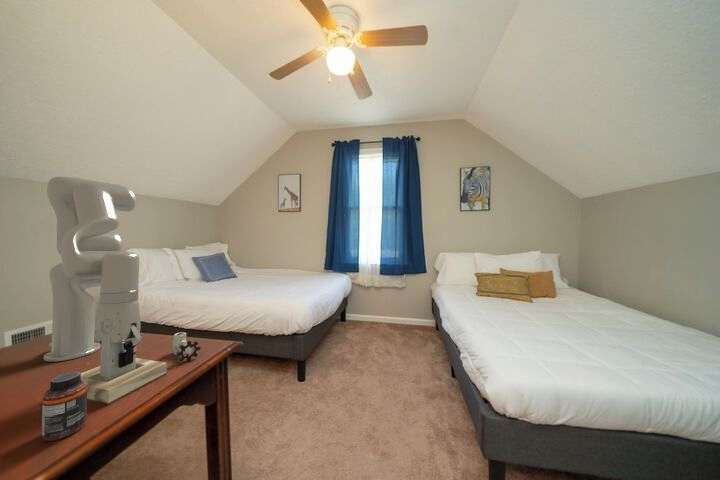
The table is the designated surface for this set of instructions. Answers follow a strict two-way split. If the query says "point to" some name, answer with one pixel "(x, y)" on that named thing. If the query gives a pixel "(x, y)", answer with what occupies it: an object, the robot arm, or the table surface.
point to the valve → (183, 346)
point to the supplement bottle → (64, 406)
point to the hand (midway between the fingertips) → (118, 363)
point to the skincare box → (113, 361)
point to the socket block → (122, 381)
